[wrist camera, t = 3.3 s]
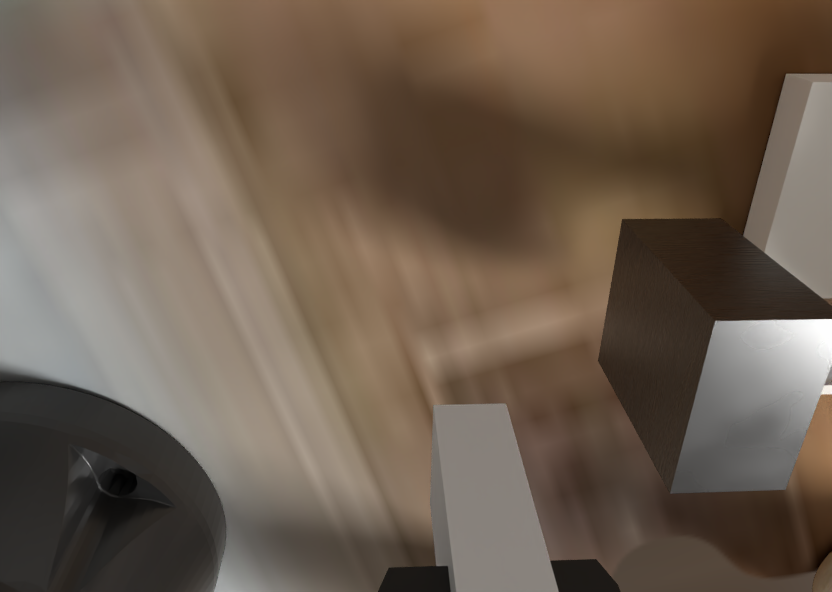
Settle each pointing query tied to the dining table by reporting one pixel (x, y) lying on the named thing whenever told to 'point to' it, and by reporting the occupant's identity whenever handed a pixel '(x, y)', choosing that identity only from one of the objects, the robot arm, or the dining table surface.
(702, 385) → the shaft
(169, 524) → the robot arm
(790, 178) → the shaft bracket
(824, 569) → the stacking toy
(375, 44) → the dining table surface
